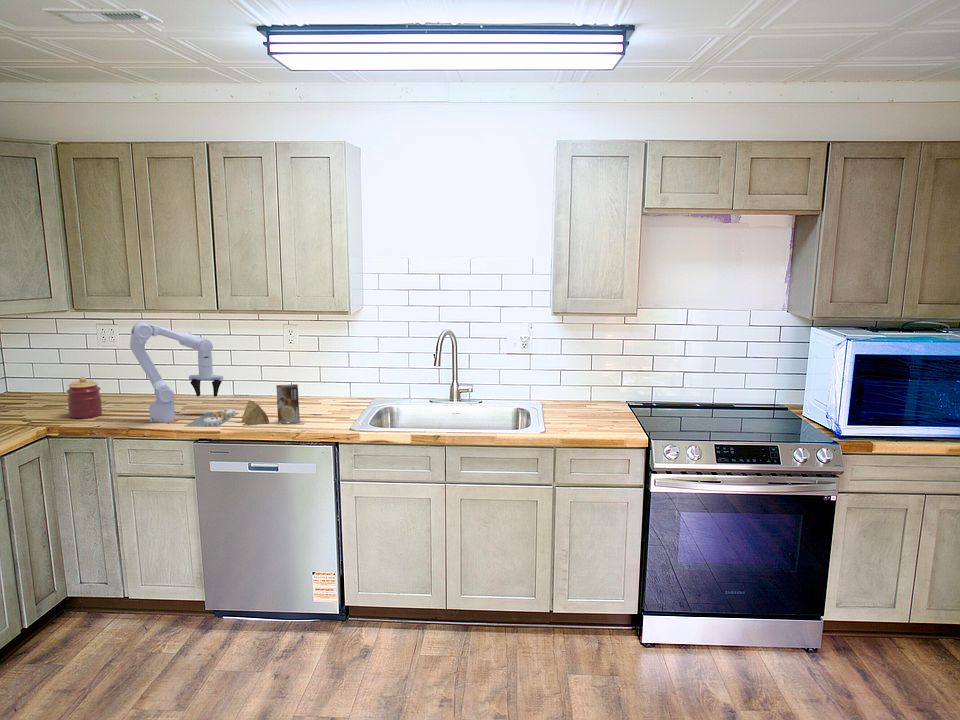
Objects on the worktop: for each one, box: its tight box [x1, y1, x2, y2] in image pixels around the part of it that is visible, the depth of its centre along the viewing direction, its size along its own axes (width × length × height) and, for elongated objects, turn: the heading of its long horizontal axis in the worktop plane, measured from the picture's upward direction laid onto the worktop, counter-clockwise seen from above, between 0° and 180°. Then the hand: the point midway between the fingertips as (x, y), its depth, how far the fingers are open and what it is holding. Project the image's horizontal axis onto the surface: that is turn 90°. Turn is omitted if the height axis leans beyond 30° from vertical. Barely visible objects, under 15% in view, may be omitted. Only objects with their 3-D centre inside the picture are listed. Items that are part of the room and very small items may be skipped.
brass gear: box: [212, 410, 227, 421], centre depth 286 cm, size 6×6×3 cm
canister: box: [66, 376, 103, 419], centre depth 292 cm, size 13×13×18 cm
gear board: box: [185, 408, 239, 428], centre depth 286 cm, size 14×24×4 cm, turn 179°
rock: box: [241, 400, 270, 426], centre depth 283 cm, size 11×9×10 cm
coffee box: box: [275, 383, 301, 424], centre depth 287 cm, size 9×6×16 cm
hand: (207, 396), depth 293 cm, fingers open, 7 cm apart
